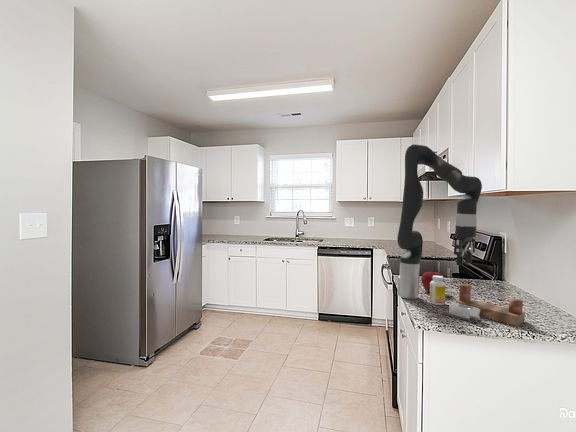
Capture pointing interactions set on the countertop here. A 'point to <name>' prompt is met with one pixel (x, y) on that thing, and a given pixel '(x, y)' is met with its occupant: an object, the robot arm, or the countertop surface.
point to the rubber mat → (457, 316)
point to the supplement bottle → (437, 290)
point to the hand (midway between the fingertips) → (464, 264)
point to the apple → (428, 279)
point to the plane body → (494, 308)
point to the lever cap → (464, 311)
